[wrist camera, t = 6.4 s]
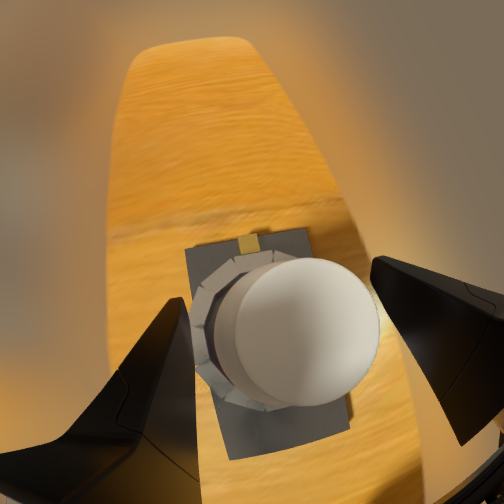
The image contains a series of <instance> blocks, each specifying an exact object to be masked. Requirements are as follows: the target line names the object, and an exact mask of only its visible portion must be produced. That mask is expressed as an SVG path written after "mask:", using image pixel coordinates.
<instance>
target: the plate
mask: <svg viewBox="0 0 504 504" xmlns="http://www.w3.org/2000/svg"><path fill="white" fill-rule="evenodd" d="M257 238H258V242H259V247H260V252H263V251H269V250H272V254H274V252H275V250H276V251H279V252H282V253H285V254H288V255H291V256H294V257H297V258H314V257H313V253H312V250H311V246H310V242H309V239H308V235H307V232H306V228H303V229H297V230H291V231H285V232H279V233H273V234H267V235H261V236H257ZM185 255H186V262H187V269H188V276H189V282H190V288H191V294H192V300H194V297H195V294H196V292H197V289H198V286H200V287H202V288H203V286H202V285H201V282H203V281H204V280H205V279H206V278H207V277H209V276H210V275H211V274H212V273H214V272H215V271H216V270H217V269H218V268H220V267H221V266H222V265H223V264H224V263H226V262H227V261H228V260H229V259H230V258H231V259H232V260H233V261H234V257H235V256H240V251H239V246H238V241H237V240H233V241H227V242H221V243H216V244H210V245H204V246H199V247H193V248H188V249H185ZM237 281H238V280H237ZM237 281H236V282H237ZM236 282H235V283H236ZM235 283H234V284H235ZM234 284H233V285H234ZM233 285H232V286H233ZM232 286H230V287H229V288H228V289H227V290H226V291H224V292H223V293H222V294H221V295H220V296H219V297H217V298H216V300H215V303H214V306H213V309H212V312H211V314H210V317H209V320H208V323H207V326H206V331H207V336H208V341H209V346H210V351H211V356H212V359H213V360H214V361H215V362H216V363H217V364H218V365H219V366H220V367H221V365H220V362H219V360H218V357H217V354H216V350H215V344H214V326H215V320H216V316H217V313H218V310H219V307H220V305H221V303H222V301H223V299H224V297H225V296H226V294H227V293H228V291H229V290H230V289H231V287H232ZM221 369H222V367H221ZM222 370H223V369H222ZM210 389H211V394H212V398H213V402H214V406H215V410H216V414H217V418H218V421H219V425H220V429H221V433H222V436H223V440H224V443H225V447H226V450H227V454H228V457H229V460H236V459H242V458H248V457H253V456H258V455H263V454H268V453H273V452H277V451H281V450H285V449H289V448H293V447H296V446H300V445H304V444H307V443H310V442H314V441H317V440H320V439H323V438H326V437H329V436H332V435H335V434H337V433H340V432H343V431H346V430H348V429H350V425H349V418H348V412H347V406H346V400H345V395H343V396H342V397H340V398H338V399H336V400H334V401H331V402H329V403H326V404H321V405H317V406H294V405H293V406H289V407H285V408H281V409H277V410H273V411H269V412H267V411H266V409H264V411H263V412H262V411H258V410H255V409H251V408H247V407H244V406H240V405H237V404H234V403H230V402H227V401H225V396H224V397H223V398H222V399H221V398H220V397H219V396H218V395H217V394H216V393H215V391H214V390H213V389H212V388H211V387H210Z"/></svg>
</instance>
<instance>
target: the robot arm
mask: <svg viewBox="0 0 504 504" xmlns="http://www.w3.org/2000/svg"><path fill="white" fill-rule="evenodd" d="M370 281H371V284H372V286H373V288H374V289H375V291H376V293H377V295H378V297H379V299H380V301H381V303H382V305H383V307H384V308H385V310H386V312H387V314H388V316H389V317H390V319H391V320H392V322H393V324H394V325H395V327H396V328H397V330H398V331H399V333H400V335H401V336H402V338H403V340H404V341H405V343H406V344H407V346H408V348H409V349H410V351H411V353H412V354H413V356H414V358H415V359H416V361H417V363H418V365H419V366H420V368H421V370H422V372H423V373H424V375H425V377H426V378H427V380H428V382H429V384H430V386H431V388H432V389H433V391H434V393H435V395H436V397H437V399H438V401H439V402H440V405H441V407H442V409H443V411H444V413H445V415H446V417H447V419H448V421H449V423H450V425H451V427H452V429H453V431H454V433H455V435H456V437H457V440H458V442H459V444H460V445H461V446H463V445H464V444H466V443H467V442H468V441H469V440H470V439H471V438H473V437H474V436H475V435H476V434H477V433H479V431H481V430H482V429H483V428H484V427H485V426H486V425H487V424H488V423H489V422H490V421H491V420H492V419H493V420H494V421H495V423H496V424H497V426H498V427H499V429H500V439H499V449H498V450H497V451H496V452H495V453H494V454H493V455H492V456H491V457H490V458H489V459H488V460H487V461H486V462H485V463H484V464H483V465H482V466H480V467H479V468H478V469H477V470H476V471H475V472H474V473H473V474H472V475H470V476H469V477H468V478H467V479H466V480H464V481H463V482H462V483H461V484H460V485H458V486H457V487H456V488H454V489H453V490H452V491H450V492H449V493H448V494H446V495H445V496H444V497H442V498H441V499H439V500H438V501H437V502H435V503H434V504H481V503H482V502H483V501H484V500H485V501H486V503H487V504H504V295H503V294H499V293H496V292H493V291H489V290H486V289H483V288H480V287H477V286H474V285H471V284H468V283H465V282H462V281H460V280H457V279H454V278H451V277H448V276H445V275H442V274H439V273H436V272H433V271H430V270H427V269H424V268H421V267H418V266H415V265H412V264H409V263H405V262H402V261H399V260H396V259H393V258H390V257H387V256H379V257H375V258H374V259H373V260H372V267H371V273H370ZM118 369H119V370H116V371H115V373H114V374H113V376H112V377H111V378H110V380H109V381H108V382H107V384H106V385H105V386H104V388H103V389H102V390H101V392H100V393H99V394H98V395H97V396H96V398H95V399H94V400H93V401H92V402H91V404H90V405H89V406H88V407H87V408H86V409H85V411H84V412H83V413H82V414H81V415H80V416H79V418H78V419H77V420H76V421H75V422H74V424H73V425H72V426H71V427H70V428H69V430H67V431H66V432H65V433H64V434H63V435H62V436H61V437H59V438H58V439H56V440H54V441H52V442H49V443H46V444H42V445H38V446H34V447H30V448H25V449H21V450H16V451H12V452H6V453H1V454H0V493H1V494H3V495H5V496H7V499H6V504H202V499H201V488H200V483H199V482H200V478H199V465H198V449H197V430H196V402H195V360H194V351H193V344H192V336H191V327H190V320H189V316H188V313H187V309H186V306H185V303H184V300H183V298H182V297H176V298H171V299H169V300H168V302H167V303H166V304H165V305H164V307H163V308H162V309H161V311H160V312H159V313H158V315H157V316H156V317H155V319H154V320H153V321H152V323H151V324H150V325H149V327H148V328H147V329H146V331H145V332H144V333H143V335H142V336H141V337H140V339H139V340H138V341H137V343H136V344H135V345H134V347H133V348H132V349H131V351H130V352H129V354H128V355H127V356H126V358H125V359H124V360H123V362H122V363H121V365H120V366H119V367H118Z"/></svg>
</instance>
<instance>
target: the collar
mask: <svg viewBox="0 0 504 504" xmlns="http://www.w3.org/2000/svg"><path fill="white" fill-rule="evenodd" d="M237 241H238V246H239V251H240V256H235V257H234V261H233V260H232V259H231V258H230V259H229V260H228V261H227V262H226V263H224V264H223V265H222V266H221V267H220V268H218V269H217V270H216V271H215V272H214V273H212V274H211V275H210V276H209V277H207V278H206V279H205V280H204V281H203V282H201V285H202V286H203V288H202V287H200V286H198V289H197V292H196V294H195V297H194V300H193V303H192V305H191V308H190V311H189V314H188V316H189V320H190V325H191V326H190V327H191V336H192V344H193V351H194V360H195V366H196V365H199V366H197V367H196V368H195V371H196V372H197V373H198V374H199V375H200V376H201V377H202V379H203V380H204V381H205V382H206V383H207V384H208V385H209V386H210V387H211V388H212V389H213V390H214V391H215V393H216V394H217V395H218V396H219V397H220V398H221V399H222V398H223V397H224V396H225V401H227V402H230V403H234V404H237V405H240V406H244V407H247V408H251V409H255V410H258V411H262V412H263V411H264V409H266V411H267V412H269V411H273V410H277V409H281V408H285V407H289V406H276V405H271V404H266V403H263V402H260V401H258V400H255V399H253V398H251V397H250V396H248V395H246V394H245V393H243V392H242V391H241V390H239V389H238V388H237V387H236V386H235V385H234V384H233V383H232V382H231V381H230V379H229V378H228V377H227V375H226V374H225V372H224V371H223V370H222V369H221V367H220V366H219V365H218V364H217V363H216V362H215V361H214V360H213V359H212V356H211V351H210V346H209V341H208V336H207V331H206V326H207V323H208V320H209V317H210V314H211V312H212V309H213V306H214V303H215V300H216V298H217V297H219V296H220V295H221V294H222V293H223V292H224V291H226V290H227V289H228V288H229V287H230V286H232V285H233V284H234V283H235V282H236V281H237V280H239V279H240V278H242V277H243V276H244V275H246V274H247V273H249V272H250V271H252V270H254V269H256V268H258V267H260V266H263V265H266V264H270V263H274V262H279V261H289V260H294V259H298V258H297V257H294V256H291V255H288V254H285V253H282V252H279V251H276V250H275V252H274V254H272V250H269V251H263V252H260V247H259V242H258V238H257V233H254V234H248V235H242V236H237Z"/></svg>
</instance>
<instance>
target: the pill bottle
mask: <svg viewBox="0 0 504 504" xmlns="http://www.w3.org/2000/svg"><path fill="white" fill-rule="evenodd" d="M379 339H380V320H379V315H378V311H377V307H376V304H375V302H374V300H373V297H372V295H371V293H370V292H369V290H368V289H367V287H366V286H365V285H364V283H363V282H362V281H361V280H360V279H359V278H358V277H357V276H356V275H355V274H353V273H352V272H351V271H350V270H348V269H347V268H345V267H343V266H341V265H340V264H337V263H335V262H332V261H328V260H325V259H320V258H298V259H294V260H289V261H279V262H274V263H270V264H266V265H263V266H260V267H258V268H256V269H254V270H252V271H250V272H249V273H247V274H246V275H244V276H243V277H242V278H240V279H239V280H238V281H237V282H236V283H235V284H234V285H233V286H232V287H231V289H230V290H229V291H228V293H227V294H226V296H225V297H224V299H223V301H222V303H221V305H220V307H219V310H218V313H217V316H216V320H215V326H214V344H215V350H216V354H217V357H218V360H219V362H220V365H221V367H222V369H223V371H224V372H225V374H226V375H227V377H228V378H229V379H230V381H231V382H232V383H233V384H234V385H235V386H236V387H237V388H238V389H239V390H241V391H242V392H243V393H245V394H246V395H248V396H250V397H251V398H253V399H255V400H258V401H260V402H263V403H266V404H271V405H276V406H293V405H294V406H317V405H321V404H326V403H329V402H331V401H334V400H336V399H338V398H340V397H342V396H343V395H345V394H347V393H348V392H349V391H351V390H352V389H353V388H354V387H355V386H356V385H357V384H358V383H359V382H360V381H361V380H362V379H363V378H364V376H365V375H366V374H367V372H368V370H369V369H370V367H371V365H372V363H373V361H374V359H375V356H376V353H377V350H378V345H379Z"/></svg>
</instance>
